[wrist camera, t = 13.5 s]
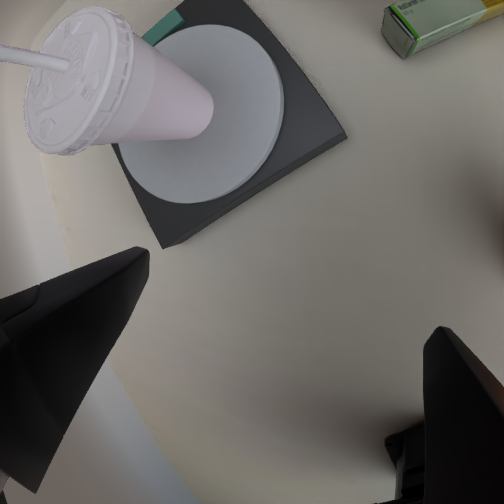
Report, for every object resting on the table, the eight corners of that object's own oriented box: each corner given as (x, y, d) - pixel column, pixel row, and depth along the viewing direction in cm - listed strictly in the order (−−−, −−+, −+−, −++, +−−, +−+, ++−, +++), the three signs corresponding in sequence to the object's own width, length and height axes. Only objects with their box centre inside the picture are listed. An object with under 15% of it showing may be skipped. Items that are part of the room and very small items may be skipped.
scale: (347, 137, 18) (343, 129, 15) (180, 243, 24) (155, 251, 21) (232, -11, 18) (213, -30, 15) (108, 96, 24) (82, 91, 21)
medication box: (403, 63, 16) (411, 44, 12) (378, 31, 16) (380, 6, 12) (518, 10, 11) (539, -9, 7) (495, -19, 11) (512, -42, 7)
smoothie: (254, 122, 17) (18, 38, 4) (170, 180, 19) (-54, 199, 7) (206, 45, 17) (16, -53, 4) (134, 104, 19) (-57, 75, 7)
